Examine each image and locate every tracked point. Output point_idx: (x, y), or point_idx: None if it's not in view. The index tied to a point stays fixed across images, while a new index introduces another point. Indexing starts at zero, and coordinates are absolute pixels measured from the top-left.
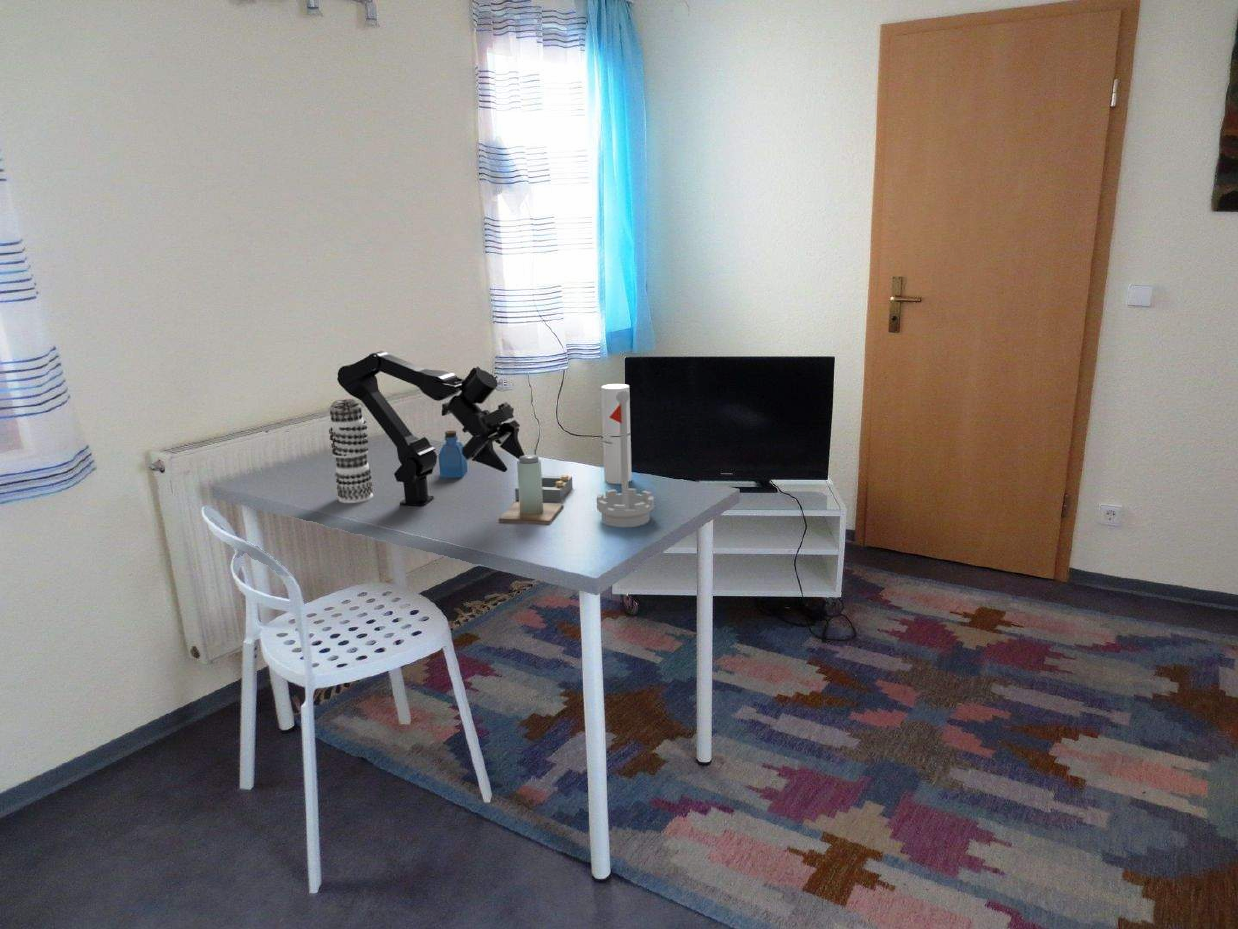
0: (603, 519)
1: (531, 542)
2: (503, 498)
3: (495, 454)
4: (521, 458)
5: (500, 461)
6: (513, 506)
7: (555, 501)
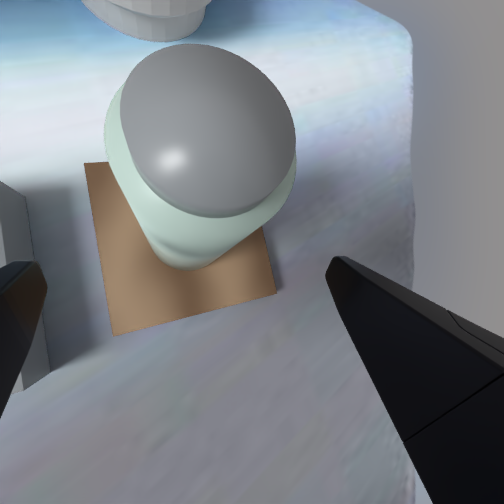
0: (188, 26)
1: (348, 160)
2: (40, 436)
3: (476, 337)
4: (273, 170)
5: (401, 290)
6: (164, 314)
7: (27, 215)
